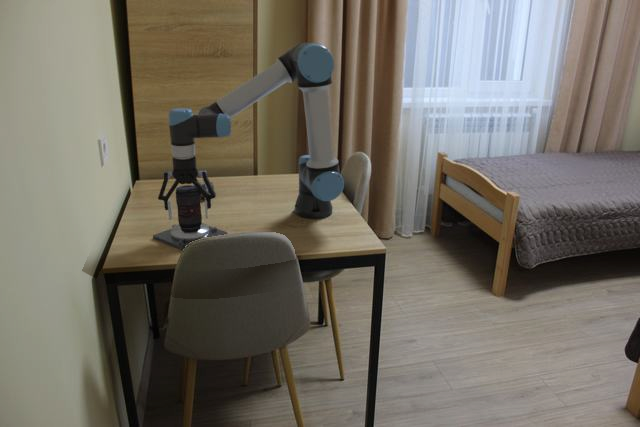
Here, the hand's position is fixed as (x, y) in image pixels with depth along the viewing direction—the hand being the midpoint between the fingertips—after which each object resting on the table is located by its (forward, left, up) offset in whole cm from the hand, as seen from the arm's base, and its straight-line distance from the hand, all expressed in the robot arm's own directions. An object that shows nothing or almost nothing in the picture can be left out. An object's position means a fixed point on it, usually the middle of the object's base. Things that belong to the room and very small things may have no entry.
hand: (189, 217), depth 177 cm
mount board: (0, 0, -7) cm, 7 cm away
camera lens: (0, 0, -4) cm, 4 cm away
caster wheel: (+31, -32, -8) cm, 45 cm away
